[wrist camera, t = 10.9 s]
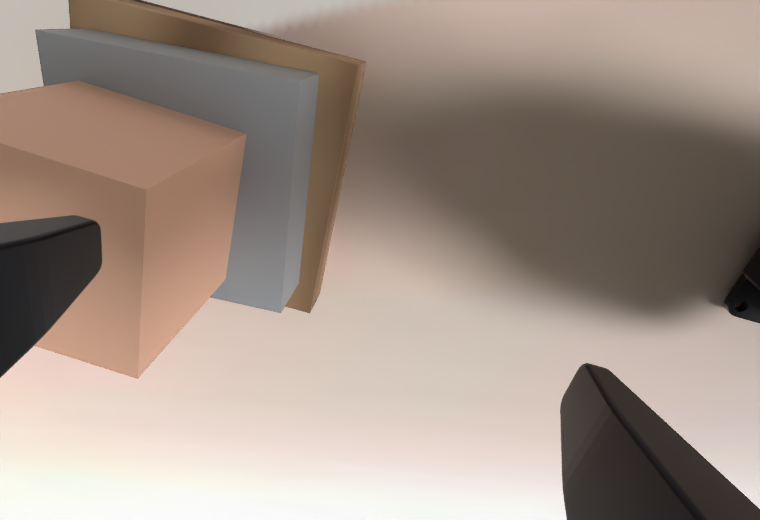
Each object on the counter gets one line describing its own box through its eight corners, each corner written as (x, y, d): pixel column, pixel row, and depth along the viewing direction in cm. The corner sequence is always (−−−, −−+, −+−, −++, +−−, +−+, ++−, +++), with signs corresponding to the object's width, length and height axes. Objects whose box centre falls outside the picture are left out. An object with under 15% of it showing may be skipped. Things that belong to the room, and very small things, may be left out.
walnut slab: (369, 60, 20) (357, 65, 17) (323, 286, 25) (309, 313, 23) (111, -8, 20) (67, -11, 18) (119, 229, 25) (85, 250, 23)
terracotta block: (246, 133, 17) (146, 189, 11) (225, 278, 19) (137, 379, 14) (79, 80, 17) (-101, 111, 11) (82, 233, 19) (-60, 315, 14)
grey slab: (319, 73, 18) (299, 81, 16) (298, 283, 22) (280, 313, 20) (87, 28, 18) (35, 29, 16) (109, 241, 22) (71, 266, 20)
